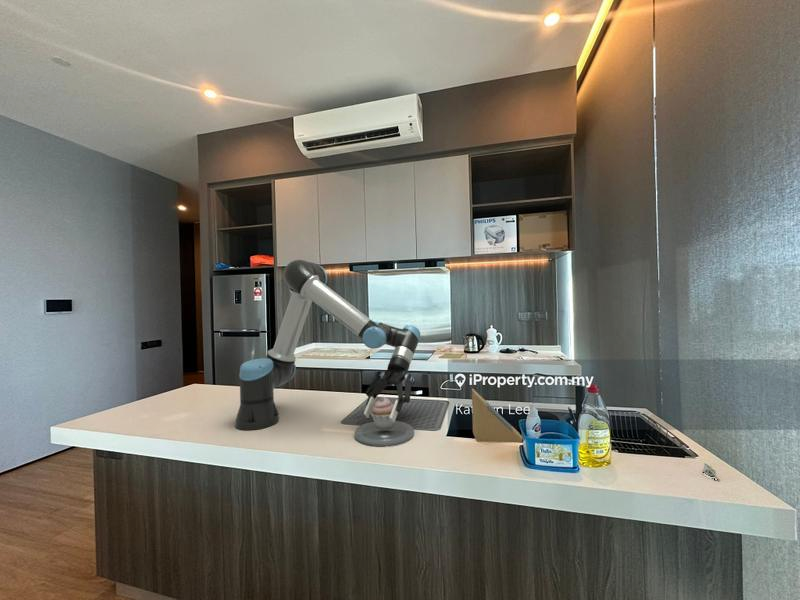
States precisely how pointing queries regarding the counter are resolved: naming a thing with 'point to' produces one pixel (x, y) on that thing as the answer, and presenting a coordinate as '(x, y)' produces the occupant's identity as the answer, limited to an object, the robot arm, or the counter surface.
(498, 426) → the sandwich container
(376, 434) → the slate plate
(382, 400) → the cupcake
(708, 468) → the small metal piece
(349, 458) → the counter surface
